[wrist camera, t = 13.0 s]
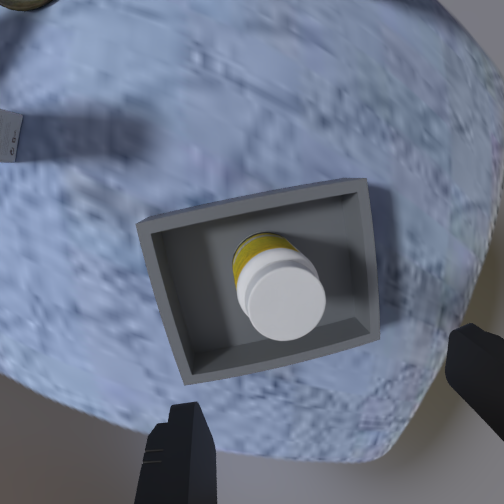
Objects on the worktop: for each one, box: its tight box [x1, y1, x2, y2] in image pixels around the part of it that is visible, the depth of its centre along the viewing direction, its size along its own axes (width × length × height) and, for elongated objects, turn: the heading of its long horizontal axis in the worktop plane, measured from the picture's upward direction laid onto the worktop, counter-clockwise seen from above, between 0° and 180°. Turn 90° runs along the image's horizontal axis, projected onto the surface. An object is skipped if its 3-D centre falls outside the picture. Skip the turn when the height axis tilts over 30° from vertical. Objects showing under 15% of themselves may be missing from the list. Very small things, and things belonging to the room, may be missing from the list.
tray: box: [136, 178, 380, 385], centre depth 23 cm, size 12×15×4 cm
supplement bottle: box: [232, 231, 326, 341], centre depth 20 cm, size 5×5×8 cm
